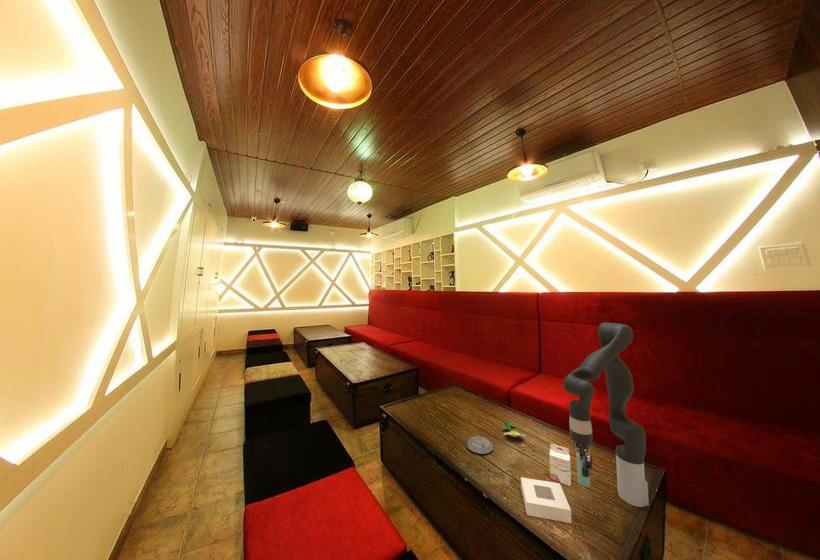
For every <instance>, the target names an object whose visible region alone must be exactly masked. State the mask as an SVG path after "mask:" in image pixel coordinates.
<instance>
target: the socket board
mask: <svg viewBox="0 0 820 560" xmlns="http://www.w3.org/2000/svg"><path fill="white" fill-rule="evenodd" d="M520 489H521V494H522V498H523V504H524V508H525V513H526V515H527V516H531V517H536V518H540V519H547V520H551V521H557V522H560V523H561V522H563V523H568V524H572V510H571V509H572V508H571V507H570V504H569V502H568V500H567V498H566V494H565V492H564V491H563V487H562V486H561V484H560V482H555V481H546V480H541V479H540V480H539V479H533V478H527V477H522V476H521V477H520Z"/></svg>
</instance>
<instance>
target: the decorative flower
mask: <svg viewBox="0 0 820 560" xmlns="http://www.w3.org/2000/svg"><path fill="white" fill-rule="evenodd" d="M502 420H503V422H504V423H505V425H504V426H502V429H504V430H508V429H509V430H510V431H508V432H503V435H505V436H506V435H509V436H511V437H513V438H517V437H521V438H523V437H527V436H526V435H525V434H523V433H519V432H518V431H516V430H515V431H514V430H512V428H511V427H516V425H515V424H512V423H507V421H506V420H505V418H502Z"/></svg>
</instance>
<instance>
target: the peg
mask: <svg viewBox="0 0 820 560" xmlns="http://www.w3.org/2000/svg"><path fill="white" fill-rule="evenodd" d="M575 457H576V472H577V473H576V474H577V483H578V484H579V485H580V486H582V487H585V488H590V486H591V480H590V479H591V478H590V475H589V477H584V476H583V475H582V466H581V460H580V459H579V454H578V450H576V454H575ZM581 457H582V456H581ZM582 458H584V457H582Z"/></svg>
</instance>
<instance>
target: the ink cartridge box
mask: <svg viewBox="0 0 820 560" xmlns="http://www.w3.org/2000/svg"><path fill="white" fill-rule="evenodd" d="M549 448H550V449H549V477H550V478H549V479H550V480H551V481H553V482H556V483H561V484H564V485H566V486H569V487H572V479H571V478H572V476H571V474H572V472H571V471H572V470H571V455H570V449H569V448H567V447H565V446H561V445H557V444H554V443H550V444H549Z"/></svg>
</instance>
